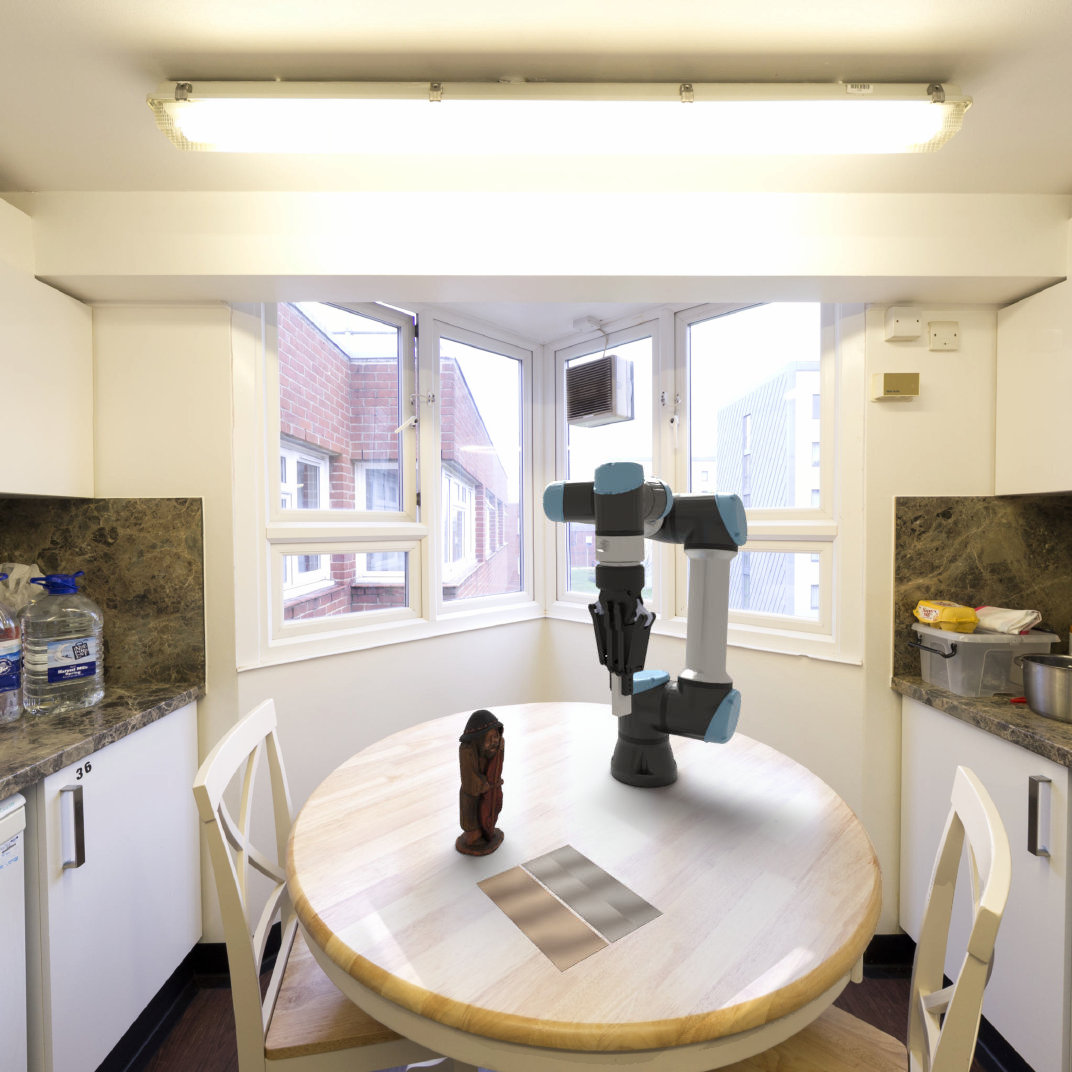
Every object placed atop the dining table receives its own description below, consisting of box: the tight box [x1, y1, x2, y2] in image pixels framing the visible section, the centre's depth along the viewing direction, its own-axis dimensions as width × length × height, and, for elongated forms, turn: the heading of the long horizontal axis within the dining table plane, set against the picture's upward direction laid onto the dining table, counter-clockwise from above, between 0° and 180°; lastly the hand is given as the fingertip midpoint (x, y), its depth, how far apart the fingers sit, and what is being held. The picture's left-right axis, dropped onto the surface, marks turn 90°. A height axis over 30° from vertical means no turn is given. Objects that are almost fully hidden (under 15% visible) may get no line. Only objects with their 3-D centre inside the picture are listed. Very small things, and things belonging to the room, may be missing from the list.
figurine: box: [455, 709, 506, 857], centre depth 103 cm, size 10×8×25 cm
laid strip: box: [521, 844, 664, 944], centre depth 91 cm, size 22×10×2 cm, turn 35°
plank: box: [475, 865, 609, 973], centre depth 85 cm, size 22×8×2 cm, turn 35°
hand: (621, 713), depth 91 cm, fingers closed
